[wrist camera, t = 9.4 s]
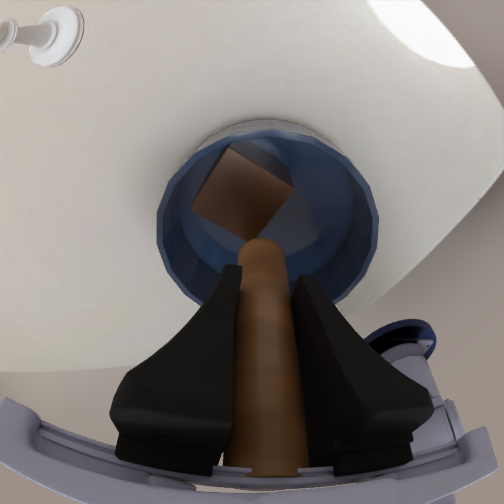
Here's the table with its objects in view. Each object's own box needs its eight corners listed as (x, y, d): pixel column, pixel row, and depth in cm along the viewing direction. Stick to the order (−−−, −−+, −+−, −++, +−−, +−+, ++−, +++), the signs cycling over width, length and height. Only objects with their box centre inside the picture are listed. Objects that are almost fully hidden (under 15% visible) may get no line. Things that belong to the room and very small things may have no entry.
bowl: (327, 293, 24) (336, 333, 21) (173, 271, 23) (158, 309, 20) (378, 144, 17) (408, 163, 14) (183, 106, 17) (161, 115, 13)
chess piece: (85, -3, 11) (-16, -24, 3) (83, 57, 14) (-27, 67, 6) (35, 18, 12) (-64, 20, 3) (33, 74, 14) (-69, 99, 6)
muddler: (292, 264, 16) (322, 483, 6) (252, 282, 16) (250, 493, 7) (270, 229, 14) (289, 471, 5) (229, 250, 15) (203, 479, 6)
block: (253, 214, 20) (252, 245, 17) (201, 183, 19) (188, 209, 15) (288, 167, 18) (295, 189, 15) (234, 132, 17) (227, 146, 14)
